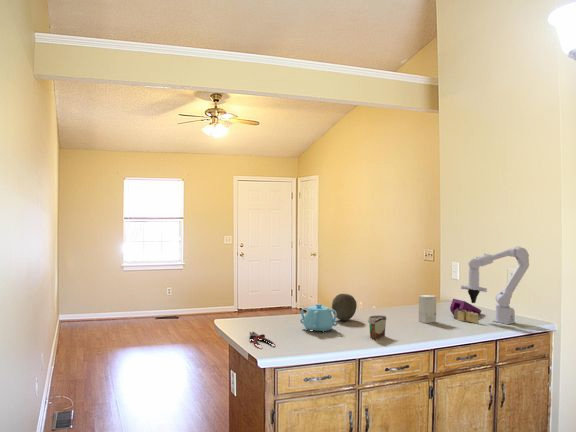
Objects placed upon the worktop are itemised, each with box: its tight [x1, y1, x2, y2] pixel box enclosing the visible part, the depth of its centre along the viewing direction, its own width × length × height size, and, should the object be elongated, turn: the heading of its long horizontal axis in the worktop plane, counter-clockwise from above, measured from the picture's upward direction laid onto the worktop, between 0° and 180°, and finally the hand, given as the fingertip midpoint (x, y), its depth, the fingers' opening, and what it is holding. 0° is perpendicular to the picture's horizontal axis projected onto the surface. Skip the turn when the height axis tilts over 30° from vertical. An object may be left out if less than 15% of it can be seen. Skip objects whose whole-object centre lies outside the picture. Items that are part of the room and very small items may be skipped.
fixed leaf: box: [453, 310, 467, 321], centre depth 280 cm, size 7×2×6 cm, turn 35°
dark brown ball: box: [331, 293, 357, 322], centre depth 277 cm, size 14×14×15 cm
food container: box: [367, 315, 387, 341], centre depth 241 cm, size 12×6×10 cm, turn 141°
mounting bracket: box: [449, 298, 482, 315], centre depth 295 cm, size 9×8×18 cm
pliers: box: [249, 331, 276, 346], centre depth 231 cm, size 3×9×22 cm
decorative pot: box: [299, 303, 338, 332], centre depth 255 cm, size 16×16×14 cm
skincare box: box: [418, 294, 437, 324], centre depth 275 cm, size 8×6×15 cm
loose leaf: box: [457, 311, 480, 324], centre depth 276 cm, size 11×5×5 cm, turn 35°
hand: (473, 302), depth 280 cm, fingers closed
